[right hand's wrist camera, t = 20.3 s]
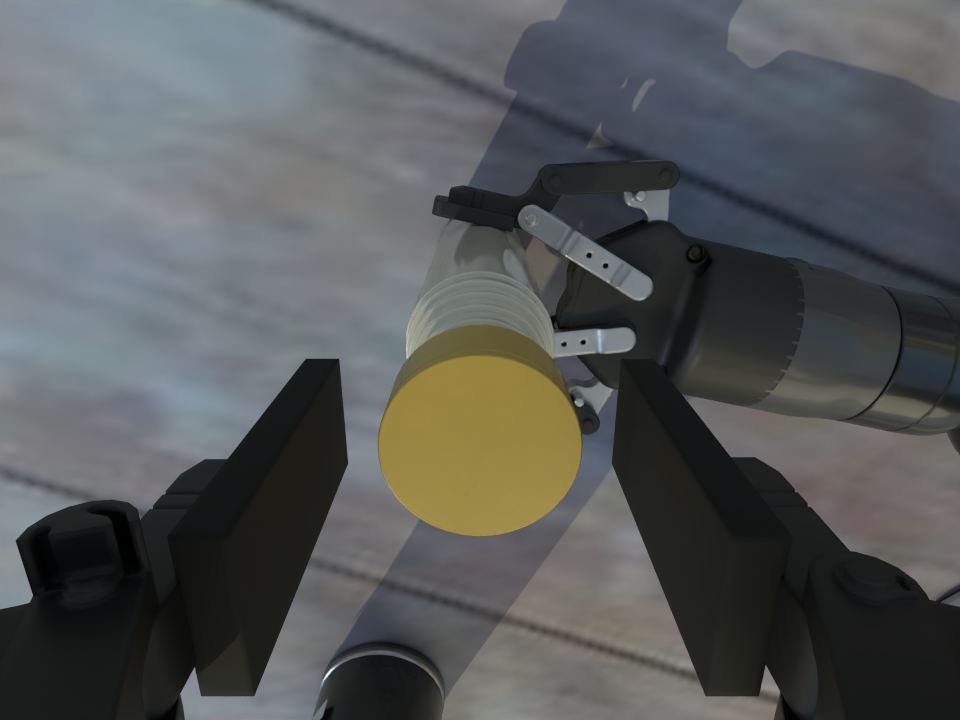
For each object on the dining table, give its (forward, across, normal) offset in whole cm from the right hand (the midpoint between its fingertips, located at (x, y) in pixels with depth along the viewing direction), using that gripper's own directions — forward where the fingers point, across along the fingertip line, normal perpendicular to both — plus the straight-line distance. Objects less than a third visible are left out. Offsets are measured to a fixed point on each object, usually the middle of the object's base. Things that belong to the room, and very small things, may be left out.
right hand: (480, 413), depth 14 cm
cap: (-2, 0, 0) cm, 2 cm away
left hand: (+16, -3, 0) cm, 16 cm away
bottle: (+22, 0, 0) cm, 22 cm away
